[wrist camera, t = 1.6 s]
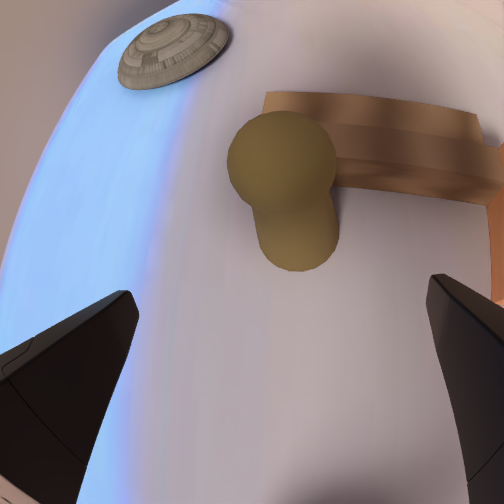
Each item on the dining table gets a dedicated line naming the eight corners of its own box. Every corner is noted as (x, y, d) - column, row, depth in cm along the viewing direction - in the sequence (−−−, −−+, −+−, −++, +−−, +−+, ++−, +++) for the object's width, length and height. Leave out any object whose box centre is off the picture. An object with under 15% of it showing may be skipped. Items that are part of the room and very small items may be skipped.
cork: (356, 232, 22) (376, 140, 12) (295, 289, 22) (270, 232, 12) (300, 180, 25) (280, 76, 14) (241, 230, 24) (185, 146, 14)
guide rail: (234, 277, 23) (211, 258, 19) (268, 100, 28) (258, 62, 23) (515, 305, 18) (551, 292, 13) (490, 126, 22) (508, 93, 18)
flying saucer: (182, 107, 30) (161, 71, 25) (103, 90, 35) (82, 65, 30) (253, 29, 33) (244, -5, 28) (170, 24, 38) (156, -2, 33)
